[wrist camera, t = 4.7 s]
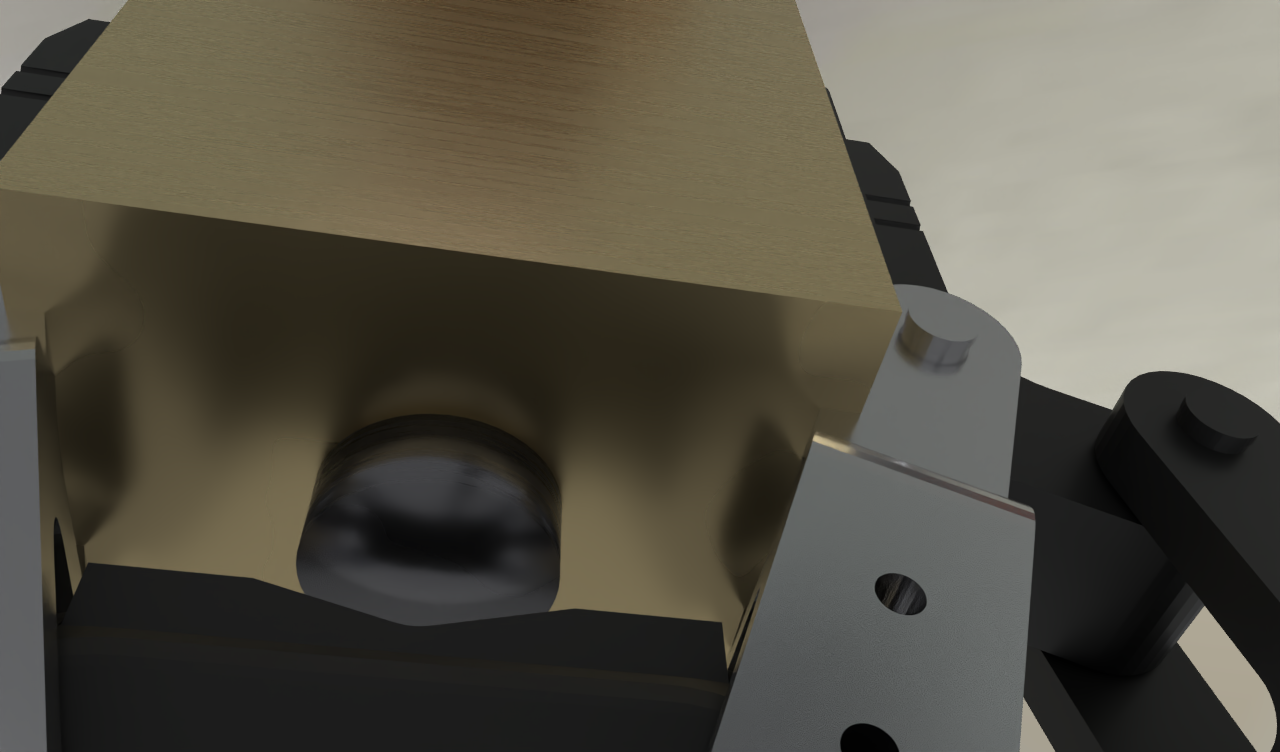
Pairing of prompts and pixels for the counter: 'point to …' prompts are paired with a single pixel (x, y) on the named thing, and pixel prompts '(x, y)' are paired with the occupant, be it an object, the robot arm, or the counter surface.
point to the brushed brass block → (446, 296)
